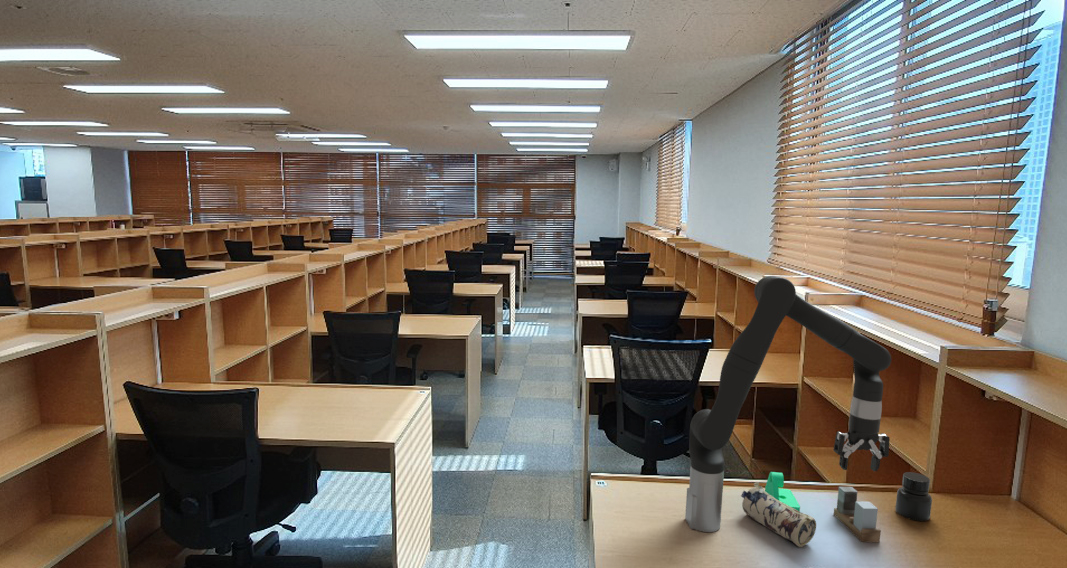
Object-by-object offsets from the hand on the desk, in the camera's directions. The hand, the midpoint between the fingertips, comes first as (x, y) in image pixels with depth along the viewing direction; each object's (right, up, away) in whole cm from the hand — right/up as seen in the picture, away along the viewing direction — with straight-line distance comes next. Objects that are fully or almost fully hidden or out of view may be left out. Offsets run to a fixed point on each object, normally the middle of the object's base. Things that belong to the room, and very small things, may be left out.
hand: (858, 469), depth 168 cm
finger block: (+2, -17, +1) cm, 17 cm away
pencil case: (-22, -19, +3) cm, 29 cm away
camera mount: (-14, -17, +18) cm, 28 cm away
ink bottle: (+24, -18, +14) cm, 33 cm away
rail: (+2, -18, +5) cm, 19 cm away
